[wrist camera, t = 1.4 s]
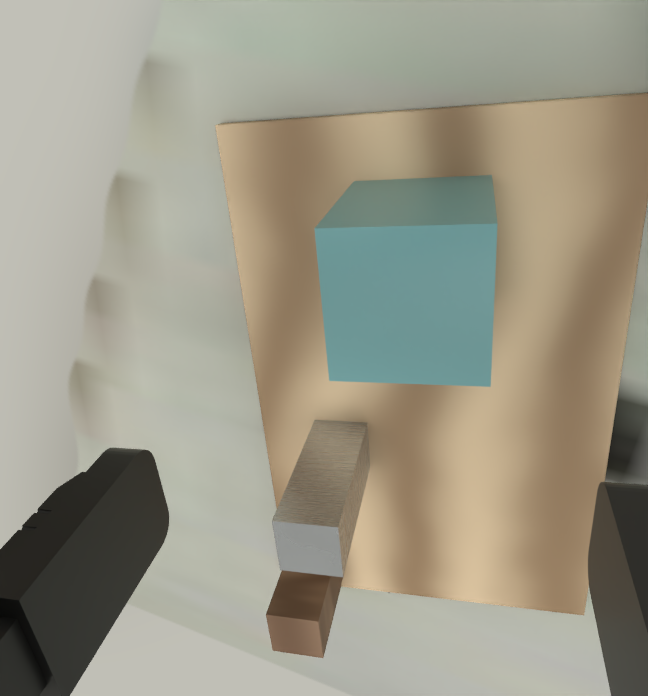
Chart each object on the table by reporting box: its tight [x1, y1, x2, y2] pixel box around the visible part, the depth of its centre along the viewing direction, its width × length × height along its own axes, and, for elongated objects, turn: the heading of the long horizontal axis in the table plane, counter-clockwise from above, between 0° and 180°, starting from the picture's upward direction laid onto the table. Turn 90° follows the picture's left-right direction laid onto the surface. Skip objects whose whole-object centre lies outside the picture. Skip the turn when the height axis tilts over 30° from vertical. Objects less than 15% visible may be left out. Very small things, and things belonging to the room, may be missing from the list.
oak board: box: [215, 93, 648, 615], centre depth 27 cm, size 16×25×1 cm, turn 5°
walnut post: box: [266, 570, 343, 658], centre depth 31 cm, size 3×3×5 cm
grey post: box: [272, 420, 370, 577], centre depth 26 cm, size 3×3×7 cm
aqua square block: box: [314, 175, 498, 387], centre depth 21 cm, size 5×5×7 cm
